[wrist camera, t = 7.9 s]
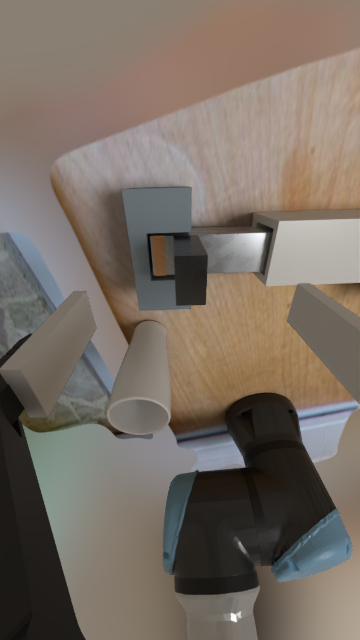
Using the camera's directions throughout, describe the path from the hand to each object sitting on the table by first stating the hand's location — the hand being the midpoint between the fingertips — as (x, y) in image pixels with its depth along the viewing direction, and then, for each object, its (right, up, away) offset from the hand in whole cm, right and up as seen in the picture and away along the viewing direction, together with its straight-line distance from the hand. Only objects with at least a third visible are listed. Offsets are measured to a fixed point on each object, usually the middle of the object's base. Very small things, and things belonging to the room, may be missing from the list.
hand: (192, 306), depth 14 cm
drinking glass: (-6, -3, +21) cm, 22 cm away
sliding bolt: (+5, +8, +12) cm, 15 cm away
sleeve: (+15, +10, +14) cm, 22 cm away
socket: (-2, +9, +13) cm, 16 cm away
